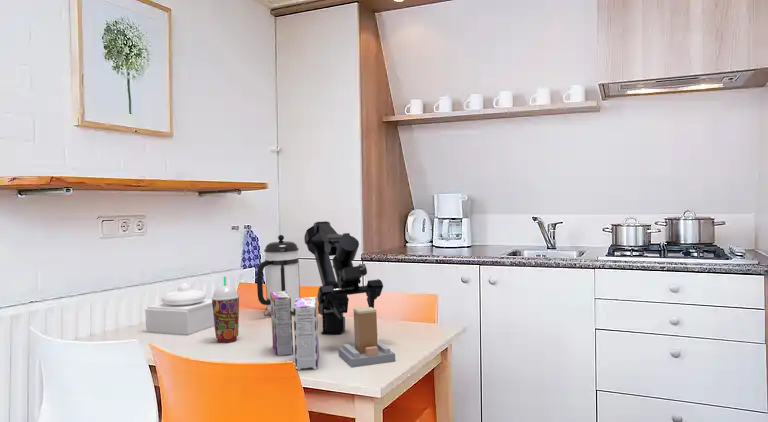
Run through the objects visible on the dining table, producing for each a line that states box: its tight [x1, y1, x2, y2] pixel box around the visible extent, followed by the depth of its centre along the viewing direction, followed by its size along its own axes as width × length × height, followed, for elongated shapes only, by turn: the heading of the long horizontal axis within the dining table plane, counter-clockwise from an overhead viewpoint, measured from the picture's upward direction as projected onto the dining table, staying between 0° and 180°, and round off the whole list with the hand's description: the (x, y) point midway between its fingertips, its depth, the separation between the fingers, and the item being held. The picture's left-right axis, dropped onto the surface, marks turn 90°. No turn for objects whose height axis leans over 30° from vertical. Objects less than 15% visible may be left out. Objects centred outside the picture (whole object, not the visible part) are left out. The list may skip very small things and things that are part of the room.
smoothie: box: [211, 276, 240, 344], centre depth 185 cm, size 8×8×20 cm
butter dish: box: [144, 282, 215, 336], centre depth 205 cm, size 18×18×16 cm
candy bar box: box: [270, 291, 294, 357], centre depth 170 cm, size 11×5×16 cm, turn 17°
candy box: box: [293, 296, 320, 371], centre depth 157 cm, size 14×6×16 cm, turn 5°
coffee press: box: [256, 234, 301, 316], centre depth 222 cm, size 17×16×30 cm
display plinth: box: [338, 339, 396, 368], centre depth 159 cm, size 12×12×4 cm
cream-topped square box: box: [353, 306, 378, 354], centre depth 159 cm, size 4×5×11 cm
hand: (357, 316), depth 167 cm, fingers open, 9 cm apart
